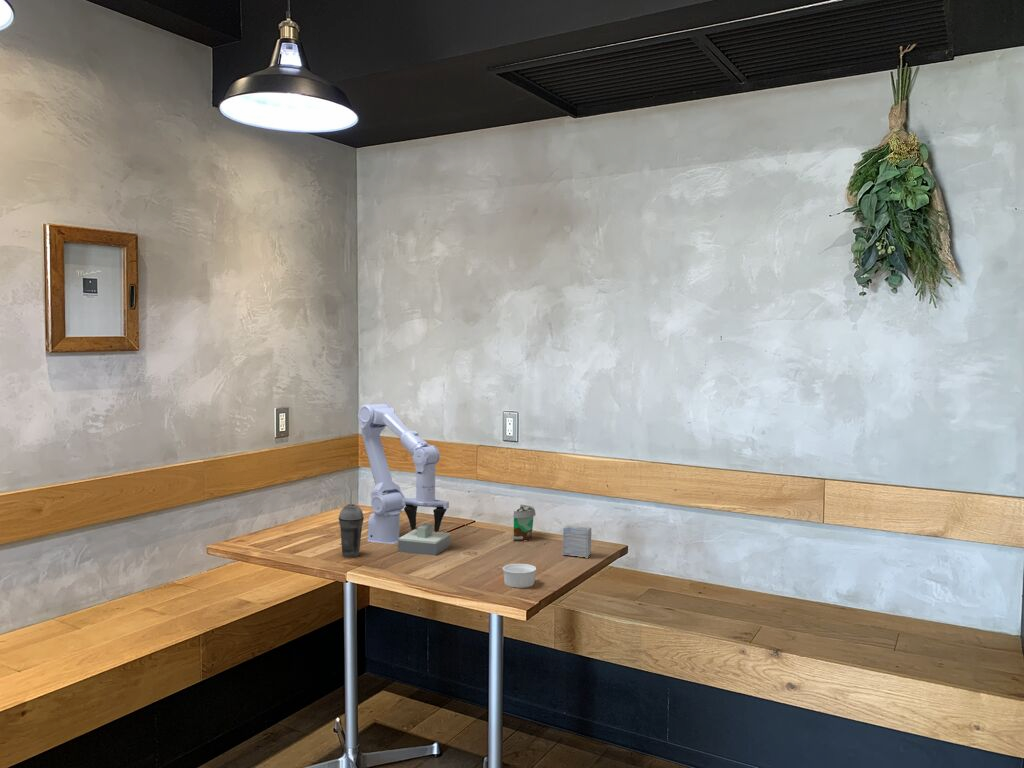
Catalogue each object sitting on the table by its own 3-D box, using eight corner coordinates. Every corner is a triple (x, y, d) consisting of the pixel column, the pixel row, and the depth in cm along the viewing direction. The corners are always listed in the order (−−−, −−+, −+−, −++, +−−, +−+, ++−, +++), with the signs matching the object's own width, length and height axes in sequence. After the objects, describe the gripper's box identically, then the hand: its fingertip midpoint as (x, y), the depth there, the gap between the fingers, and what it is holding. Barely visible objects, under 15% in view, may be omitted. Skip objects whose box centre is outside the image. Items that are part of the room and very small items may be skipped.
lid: (398, 541, 230) (398, 528, 229) (414, 532, 241) (414, 520, 241) (435, 545, 226) (436, 531, 226) (450, 536, 238) (450, 523, 238)
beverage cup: (341, 562, 219) (342, 492, 218) (335, 555, 226) (336, 488, 225) (366, 559, 222) (367, 490, 222) (359, 553, 229) (360, 486, 228)
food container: (531, 543, 245) (532, 512, 245) (512, 542, 247) (513, 511, 246) (537, 535, 257) (538, 505, 257) (519, 533, 259) (520, 504, 258)
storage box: (398, 553, 230) (398, 540, 230) (414, 544, 241) (414, 531, 241) (435, 557, 226) (435, 543, 226) (449, 547, 238) (450, 534, 238)
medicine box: (591, 555, 233) (592, 527, 233) (587, 559, 229) (588, 530, 228) (566, 552, 236) (566, 524, 235) (562, 556, 231) (562, 527, 231)
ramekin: (497, 586, 200) (497, 570, 200) (509, 577, 209) (510, 561, 208) (529, 590, 197) (529, 574, 197) (540, 581, 205) (540, 565, 205)
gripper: (398, 486, 231) (397, 531, 232) (443, 489, 227) (442, 535, 228) (407, 482, 238) (407, 526, 238) (451, 485, 234) (450, 530, 234)
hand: (425, 530), depth 234 cm, fingers open, 7 cm apart
